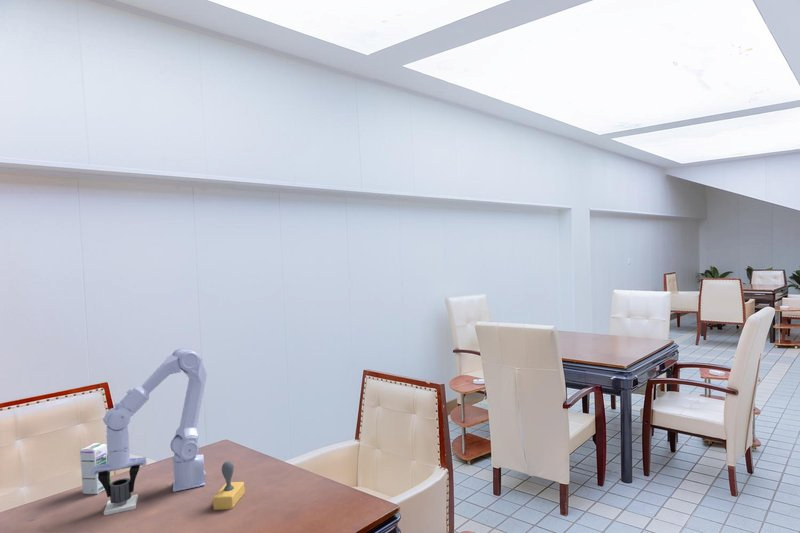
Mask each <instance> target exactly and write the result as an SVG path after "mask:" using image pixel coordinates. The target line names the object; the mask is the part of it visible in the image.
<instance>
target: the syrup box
mask: <svg viewBox="0 0 800 533" xmlns="http://www.w3.org/2000/svg"><path fill="white" fill-rule="evenodd" d="M79 457H80V472H81V483H82V484H81V485H82V493H83V494H85V495H99V494H100V493H102V492H103V491H105V489H104V487H103V485H102V483H101V482H100V481H99V480H98V474H95V475H92V476H91V467H94V466H98V465H102V464H105V463H108V454H107V442H97V443H96V442H94V443H92V444H90V445H88V446H86V447H84V448H81V449H79ZM111 482H112V480H111V477H110V483H111Z"/></svg>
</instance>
